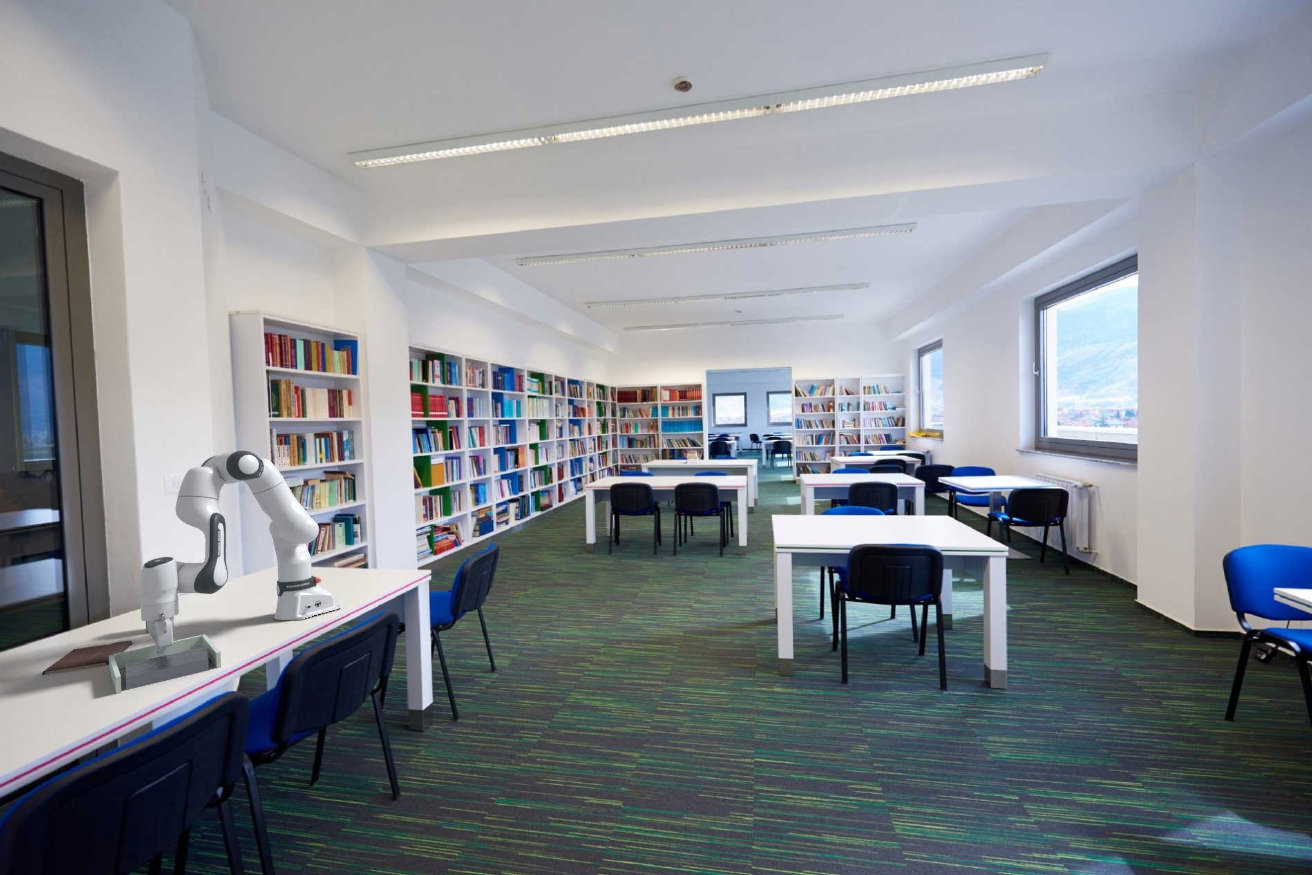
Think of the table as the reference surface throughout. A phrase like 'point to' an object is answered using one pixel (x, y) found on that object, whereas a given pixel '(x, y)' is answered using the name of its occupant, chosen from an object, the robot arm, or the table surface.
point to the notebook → (87, 657)
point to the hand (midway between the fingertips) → (161, 655)
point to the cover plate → (166, 668)
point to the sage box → (151, 652)
